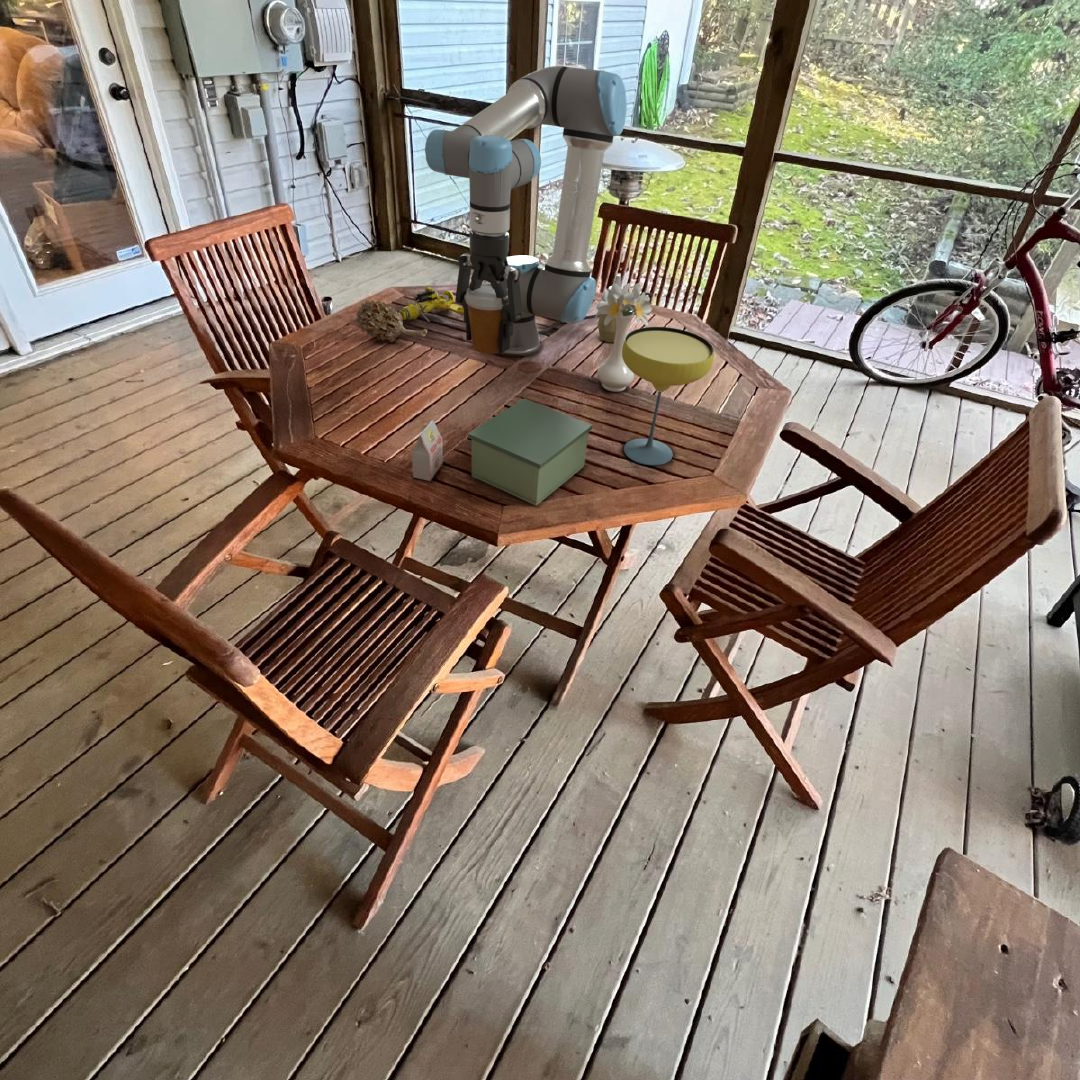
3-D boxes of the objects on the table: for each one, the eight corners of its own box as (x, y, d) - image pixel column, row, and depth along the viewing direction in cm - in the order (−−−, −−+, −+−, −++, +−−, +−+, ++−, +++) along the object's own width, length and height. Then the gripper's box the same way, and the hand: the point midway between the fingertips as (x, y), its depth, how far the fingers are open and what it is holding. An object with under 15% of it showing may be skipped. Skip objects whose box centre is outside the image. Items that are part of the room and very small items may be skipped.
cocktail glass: (688, 481, 143) (716, 370, 127) (603, 468, 145) (619, 356, 129) (689, 437, 157) (714, 332, 141) (611, 426, 159) (627, 321, 143)
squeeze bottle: (628, 338, 199) (638, 275, 187) (615, 347, 193) (625, 282, 182) (604, 330, 202) (612, 268, 190) (590, 339, 196) (598, 275, 185)
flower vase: (640, 373, 181) (657, 277, 166) (635, 405, 167) (652, 304, 151) (591, 366, 183) (603, 270, 167) (582, 397, 168) (594, 296, 153)
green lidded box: (521, 438, 152) (524, 398, 145) (587, 466, 145) (592, 424, 139) (467, 476, 139) (467, 433, 133) (536, 508, 132) (540, 464, 126)
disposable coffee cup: (504, 360, 141) (505, 303, 133) (459, 353, 142) (458, 296, 134) (514, 341, 148) (516, 286, 140) (472, 335, 149) (471, 280, 142)
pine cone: (349, 340, 185) (345, 303, 179) (368, 327, 192) (364, 292, 186) (423, 356, 180) (421, 320, 174) (439, 343, 187) (438, 307, 181)
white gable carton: (413, 477, 138) (410, 434, 131) (426, 460, 143) (424, 417, 136) (430, 481, 137) (428, 437, 131) (442, 463, 142) (441, 421, 136)
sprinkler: (382, 288, 196) (435, 272, 207) (384, 314, 201) (435, 296, 212) (427, 312, 187) (479, 293, 199) (428, 338, 192) (478, 318, 204)
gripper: (434, 222, 132) (438, 335, 146) (522, 248, 123) (517, 365, 138) (459, 215, 137) (460, 325, 151) (545, 239, 128) (538, 353, 143)
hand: (487, 344), depth 145 cm, fingers closed on disposable coffee cup, 8 cm apart
